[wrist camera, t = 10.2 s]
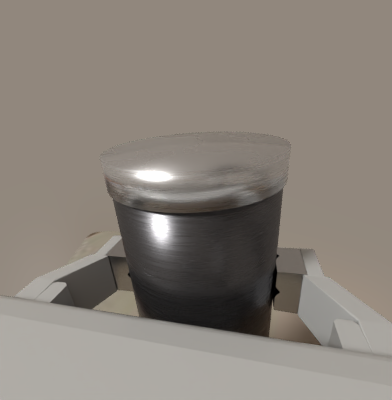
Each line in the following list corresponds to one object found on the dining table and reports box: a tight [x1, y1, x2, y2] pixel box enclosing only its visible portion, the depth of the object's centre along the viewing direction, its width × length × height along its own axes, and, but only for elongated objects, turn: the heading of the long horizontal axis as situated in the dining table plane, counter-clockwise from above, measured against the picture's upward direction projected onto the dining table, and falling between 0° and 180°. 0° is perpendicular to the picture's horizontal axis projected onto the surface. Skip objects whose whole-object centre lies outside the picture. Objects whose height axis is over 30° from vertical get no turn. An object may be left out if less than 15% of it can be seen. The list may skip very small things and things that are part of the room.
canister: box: [100, 132, 291, 337], centre depth 10 cm, size 6×6×11 cm
